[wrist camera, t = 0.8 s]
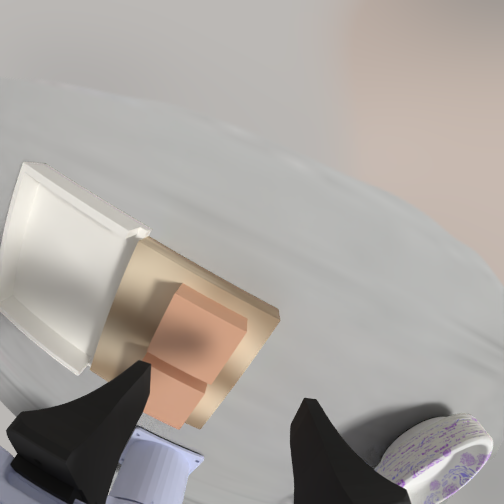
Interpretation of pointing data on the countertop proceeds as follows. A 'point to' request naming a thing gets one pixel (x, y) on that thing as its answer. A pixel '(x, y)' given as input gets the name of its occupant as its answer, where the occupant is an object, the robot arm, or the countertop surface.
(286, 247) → the countertop surface
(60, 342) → the bin
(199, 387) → the terracotta tile
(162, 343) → the terracotta tile
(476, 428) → the white purple patterned bowl
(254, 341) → the oak board
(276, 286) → the countertop surface
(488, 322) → the countertop surface
